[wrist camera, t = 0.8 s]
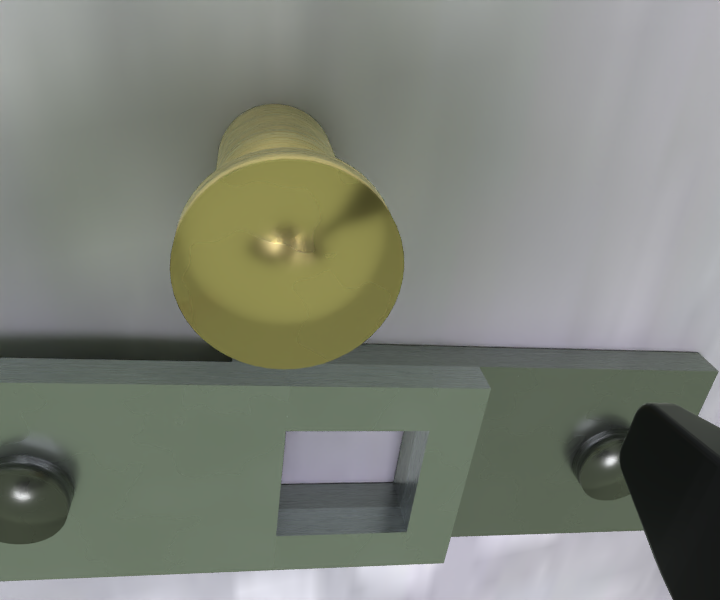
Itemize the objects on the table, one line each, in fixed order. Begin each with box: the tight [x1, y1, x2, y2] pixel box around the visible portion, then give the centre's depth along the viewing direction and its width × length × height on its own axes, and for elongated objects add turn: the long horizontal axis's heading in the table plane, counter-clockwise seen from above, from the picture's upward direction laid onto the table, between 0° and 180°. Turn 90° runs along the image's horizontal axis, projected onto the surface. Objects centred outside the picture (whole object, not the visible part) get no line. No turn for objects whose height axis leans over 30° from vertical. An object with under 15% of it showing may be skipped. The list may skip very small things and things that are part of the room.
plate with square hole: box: [0, 344, 719, 581], centre depth 22 cm, size 26×8×3 cm, turn 83°
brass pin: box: [170, 104, 404, 369], centre depth 15 cm, size 4×4×7 cm
